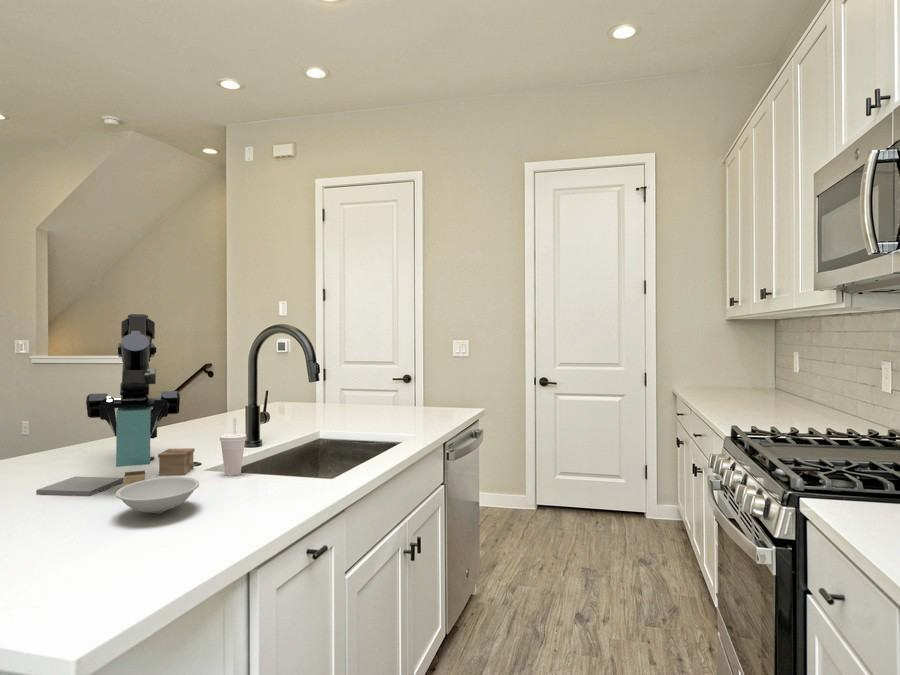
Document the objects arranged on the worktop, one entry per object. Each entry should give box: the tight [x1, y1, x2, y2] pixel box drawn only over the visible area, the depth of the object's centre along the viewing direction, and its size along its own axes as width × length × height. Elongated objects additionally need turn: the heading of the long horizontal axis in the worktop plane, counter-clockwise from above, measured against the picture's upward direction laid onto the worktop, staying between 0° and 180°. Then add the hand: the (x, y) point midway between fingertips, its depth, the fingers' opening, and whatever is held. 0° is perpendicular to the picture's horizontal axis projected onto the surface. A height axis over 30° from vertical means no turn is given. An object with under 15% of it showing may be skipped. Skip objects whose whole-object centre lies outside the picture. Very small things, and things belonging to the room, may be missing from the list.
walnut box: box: [157, 447, 195, 476], centre depth 150 cm, size 7×6×5 cm
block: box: [123, 470, 146, 487], centre depth 132 cm, size 4×4×4 cm
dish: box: [115, 476, 200, 515], centre depth 116 cm, size 18×14×5 cm
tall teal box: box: [115, 406, 152, 468], centre depth 132 cm, size 6×6×12 cm
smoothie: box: [219, 417, 247, 476], centre depth 148 cm, size 6×6×14 cm
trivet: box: [35, 476, 124, 497], centre depth 134 cm, size 12×12×1 cm
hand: (133, 433), depth 131 cm, fingers closed on tall teal box, 6 cm apart
